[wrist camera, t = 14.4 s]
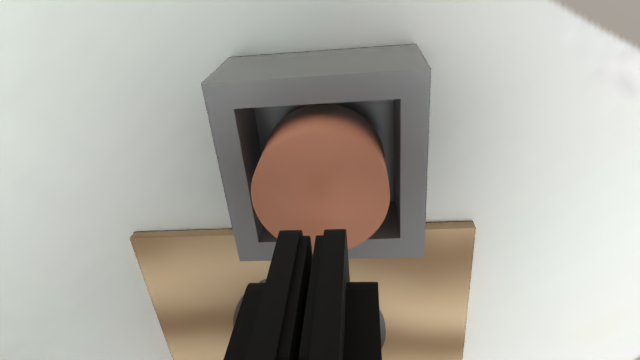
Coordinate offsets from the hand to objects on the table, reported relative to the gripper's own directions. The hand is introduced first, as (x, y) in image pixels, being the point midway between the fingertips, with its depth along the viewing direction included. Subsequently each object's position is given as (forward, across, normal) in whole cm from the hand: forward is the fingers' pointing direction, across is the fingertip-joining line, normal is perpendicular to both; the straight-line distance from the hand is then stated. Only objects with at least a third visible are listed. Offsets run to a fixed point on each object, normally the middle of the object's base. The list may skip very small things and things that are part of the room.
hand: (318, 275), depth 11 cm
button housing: (+10, 0, +1) cm, 10 cm away
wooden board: (+10, +2, +13) cm, 16 cm away
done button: (+8, 0, +1) cm, 8 cm away
